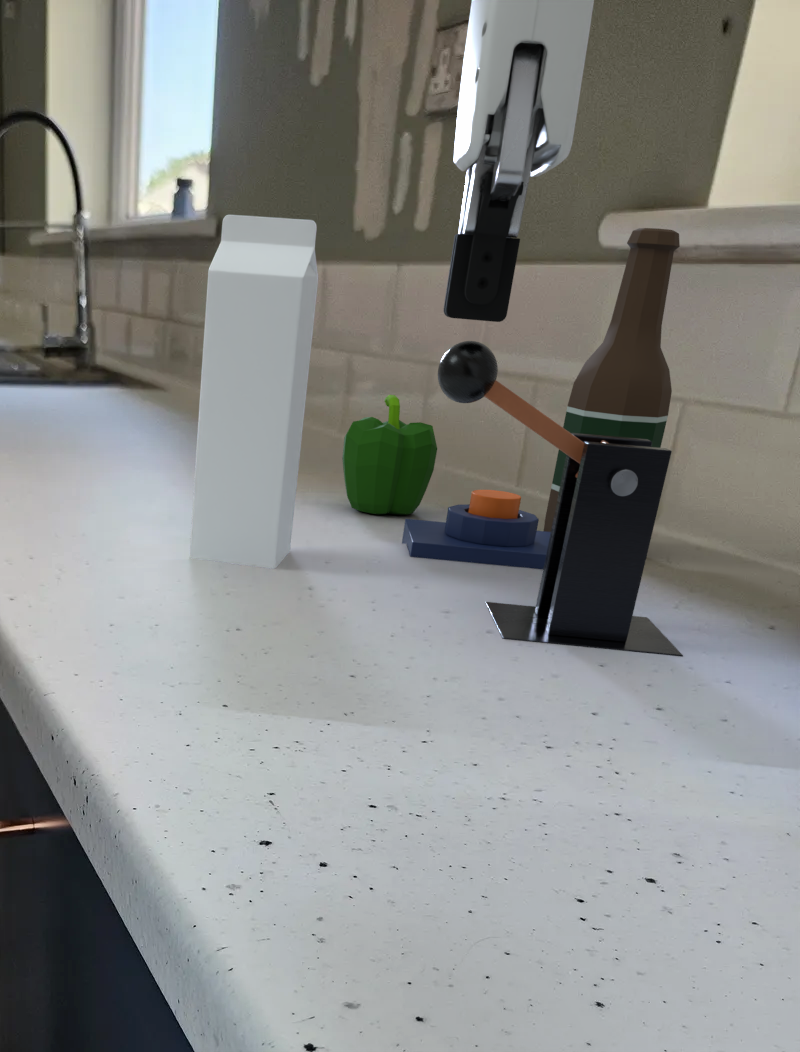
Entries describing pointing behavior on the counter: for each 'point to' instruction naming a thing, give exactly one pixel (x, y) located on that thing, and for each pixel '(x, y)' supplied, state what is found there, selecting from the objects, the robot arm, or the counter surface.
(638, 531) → the bracket
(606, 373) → the beer bottle
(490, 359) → the lever
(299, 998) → the counter surface
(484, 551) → the control block
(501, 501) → the button
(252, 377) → the milk
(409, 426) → the bell pepper
